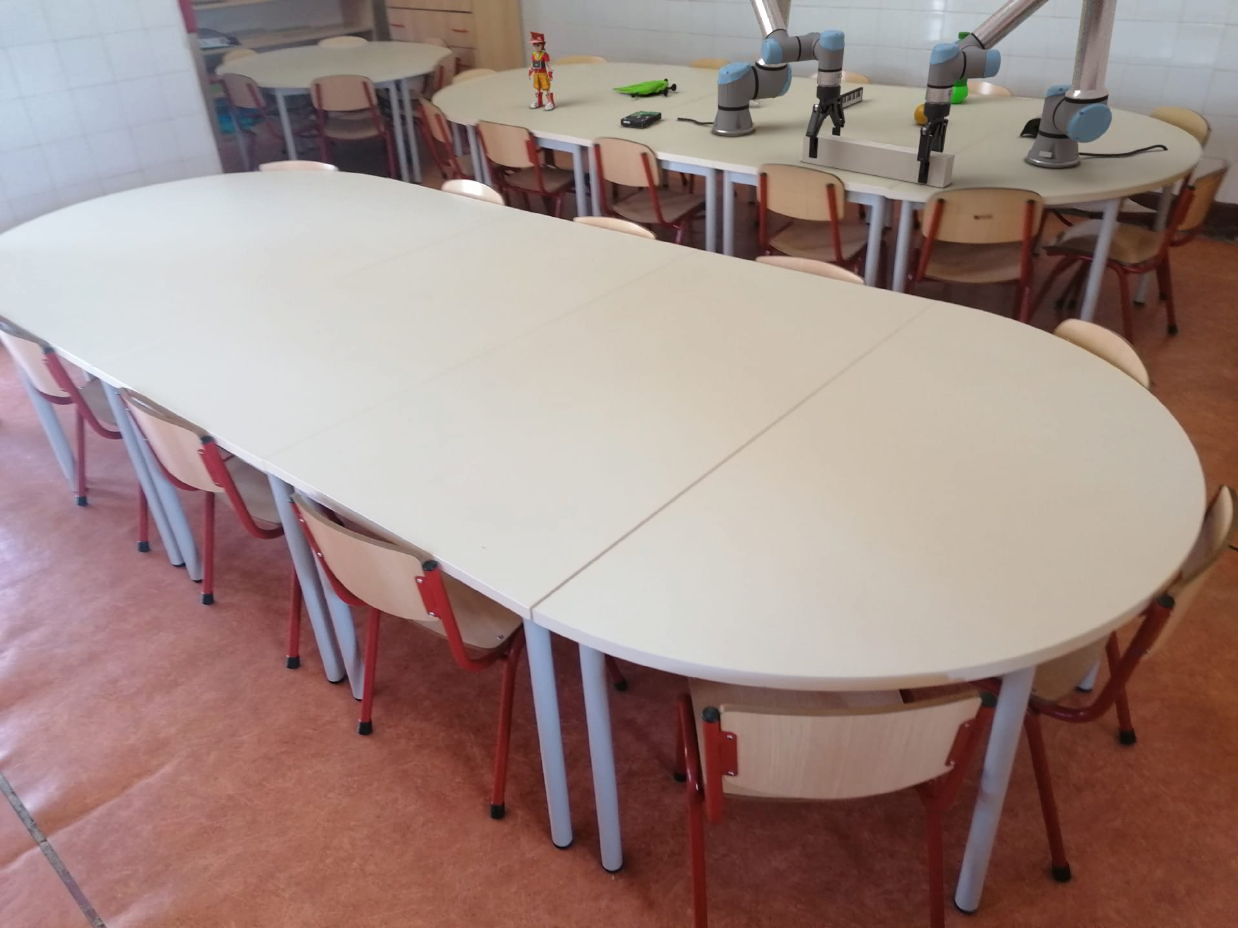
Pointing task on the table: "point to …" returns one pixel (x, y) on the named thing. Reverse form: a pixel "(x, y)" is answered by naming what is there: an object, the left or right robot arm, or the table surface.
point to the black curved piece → (1032, 126)
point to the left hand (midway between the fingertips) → (824, 153)
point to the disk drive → (641, 119)
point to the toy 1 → (541, 71)
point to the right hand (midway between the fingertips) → (926, 180)
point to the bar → (878, 159)
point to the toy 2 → (648, 88)
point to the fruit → (920, 115)
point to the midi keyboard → (852, 97)
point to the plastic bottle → (960, 81)
